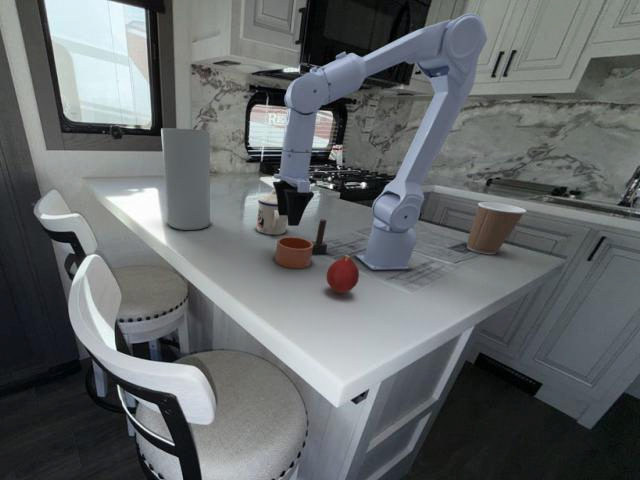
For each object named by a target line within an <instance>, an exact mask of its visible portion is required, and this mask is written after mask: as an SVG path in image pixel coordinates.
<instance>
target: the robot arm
mask: <svg viewBox="0 0 640 480" xmlns="http://www.w3.org/2000/svg"><path fill="white" fill-rule="evenodd" d="M487 41H488V36H487V34H486V30H485V26H484V22H483V20H482V19H481V17H480V16H479V15H477V14H476V13H471V12H469V13H464V14H462V15H460V16H459V17H457V18H456V19H453V20H452V19H448V20H444V21H440V22H437V23H434V24H431V25H428V26H425V27H423V28H419V29H417V30H414V31H412V32H410V33H408V34H405V35H404V36H401V37H400V38H398V39H395V40H394V41H392V42H390V43H387V44H386V45H384V46H382V47H380V48H378V49H376V50H373V51H372V52H370V53H368V54H366V55H364V56H359V55H357V54H356V53H354V52H351V53H346V51H343V52H340V53H339V54H337V55H335V60H333V61H331V62H329V63H327V64H325V65H322V66H320V67H318V66H313V67H311V68H310V69H309V72H306V73H304V75H302V76H300V77H297V78H295V79H294V80H293V81H291V82H290V84H289V85H288V87H287V89H286V93H285V95H284V104H285V107H286V114H285V123H284V130H283V138H282V148H281V159H280V167H279V168H280V169H279V173H273V178H274V179H275V180H279V181H272V185H273V189H275V192H276V196H277V205H278V214H279V215H287V225H288V226H289V227H298V226H299V225H300V222H301V221H302V218H303V215H304V213H305V211H306V208H307V206H308V205H309V204H310V202H311V200H313V198H314V196H315V193H314V192H313V191H310V188H311V183H312V181H310V176H309V172H310V164H311V158H312V151H313V145H314V139H315V131H316V122H317V115H318V110H319V109H320V108H321V107H322V106H326V105H329V104H331V103H333V102H335V101H337V100H339V99H341V98H343V97H345V96H346V97H347V96H348V95H350V94H352V93H354V92H357V91H358V90H359V89H360V88H361V86H362V84H363V83H364V81H365V79H366V78H367V77H368V78H369V77H370V76H372V75H375V74H377V73H380V72H382V71H384V70H386V69H389V68H391V67H393V66H397V65H398V64H402V63H403V62H405V63H406V64H408V65H414V64H415V65H416V67H417V69H418V70H419V71H420V72H421V73H422V75H424V77H425V78H426V79H427V80H428V81H429V82H430V84H431V87H432V90H433V93H434V94H433V98H432V99H431V101H430V103H429V105H428V108H427V110H426V112H425V114H424V116H423V118H422V121H421V122H420V125H419V127H418V129H417V131H416V133H415V135H414V138H413V139H412V142H411V145H410V146H409V148H408V151H407V152H406V155H405V156H404V158H403V161H402V163H401V165H400V167H399V169H398V171H397V173H396V176H395V178H394V179H393V180H391V181H390V182H389V183H387V184H386V185H385V186H384V188H383V190H382V192H381V193H380V194H379V195H378V196H377V197H376V198H375V199H374V201H373V203H372V205H371V212H372V215H373V217H374V218H373V223H372V225H371V226H372V227H371V229H370V234H369V238H368V241H367V245H366V248H365V251H364V254H356V258H357V259H359V260H360V261H361V262H362V263H363V264H364V265H366V267H368V268H369V269H370V270H372V271H383V270H385V271H386V270H387V271H389V270H391V271H392V270H409V268H410V266H408V265H409V263H410V262H409V261H410V259H411V257H412V254H413V251H414V248H415V246H416V242H417V235H416V234H417V233H416V232H415V230H414V229H413V227H414V226H415V225H416V224H417V222H418V221H419V219H420V216H421V208H422V205H423V203H424V201H425V195H424V191H423V187H422V186H423V185H424V183H425V180H426V178H427V177H428V174H429V173H430V171H431V169H432V167H433V165H434V163H435V161H436V159H437V157H438V155H439V154H440V152H441V150H442V147H443V146H444V144H445V142H446V140H447V138H448V136H449V134H450V132H451V130H452V128H453V126H454V125H455V122H456V121H457V119H458V117H459V115H460V113H461V111H462V109H463V107H464V106H465V103H466V101H467V100H468V98H469V96H470V94H471V92H472V89H473V87H474V84H475V79H476V75H477V74H476V73H477V68H478V62H479V57H480V55H481V53H482V51H483V49H484V47H485V45H486V43H487Z"/></svg>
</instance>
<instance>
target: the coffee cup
mask: <svg viewBox="0 0 640 480" xmlns="http://www.w3.org/2000/svg"><path fill="white" fill-rule="evenodd" d="M477 205H478V207H477V208H476V209H477V210H476V213H475V216H474V220H473V222H472V227H471V230H470V233H469V236H468V238H467V242H466V243H467V244H466V248H467V249H468V250H470V251H472V252H475V253H478V254H483V255H495V254H497V252H498V251H499V250H500V249H501V247H502V246H503V244H504V243H505V242H506V240H507V238H508V237H509V236H510V234H511V233H512V231H513V230H514V229H515V227H516V226H517V224H518V223H519V222H520V220H521V219H522V217H523V214H526V213H527V210H526V209H525V208H522V207H520V206H515V205H510V204H507V203H501V202H492V201H491V202H490V201H480V202H478V203H477Z"/></svg>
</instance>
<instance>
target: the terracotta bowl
mask: <svg viewBox="0 0 640 480" xmlns="http://www.w3.org/2000/svg"><path fill="white" fill-rule="evenodd" d="M275 248H276V249H275V256H274V257H275V258H274V260H275V262H276V263H277V264H278V265H280V266H283V267H285V268H290V269H305V268H307V267H309V266H310V265H311V261H312V256H313V254H312V251H313V243H312V242H311V240H309V239H306V238H303V237H296V236H284V237H280V238H278V239H277V241H276V247H275Z"/></svg>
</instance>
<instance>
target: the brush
mask: <svg viewBox="0 0 640 480" xmlns="http://www.w3.org/2000/svg"><path fill="white" fill-rule="evenodd" d="M327 222H328V220H326V219H324V218H319V223H318V228H317V234H316V238H315V241H314V240H313V241H311V240H310V242H312V243H313V251H312V255H326V254H327V253H326V252H327V250H328V244H327V243H326V242H325V241H324V237H325V236H324V235H325V231H326V226H327Z"/></svg>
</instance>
